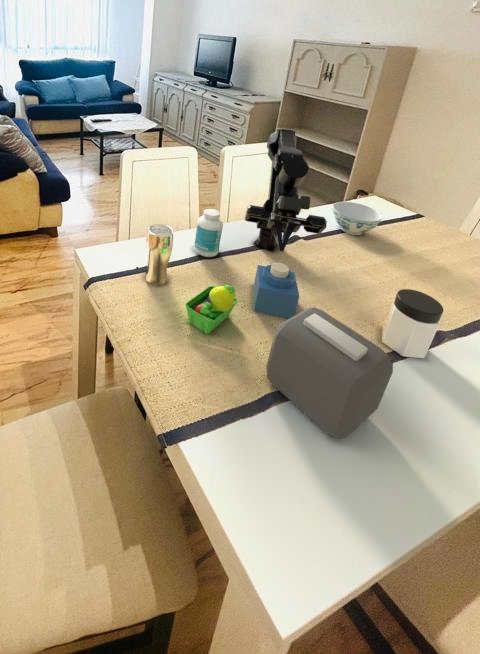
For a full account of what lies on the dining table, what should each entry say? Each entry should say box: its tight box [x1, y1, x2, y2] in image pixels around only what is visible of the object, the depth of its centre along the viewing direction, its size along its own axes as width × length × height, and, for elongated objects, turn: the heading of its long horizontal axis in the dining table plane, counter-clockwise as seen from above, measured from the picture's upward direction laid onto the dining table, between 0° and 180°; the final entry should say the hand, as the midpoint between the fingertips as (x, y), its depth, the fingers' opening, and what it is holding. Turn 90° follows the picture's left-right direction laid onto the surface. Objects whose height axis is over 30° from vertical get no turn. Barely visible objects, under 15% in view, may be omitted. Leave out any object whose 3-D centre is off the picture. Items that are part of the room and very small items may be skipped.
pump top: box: [270, 262, 290, 279], centre depth 94 cm, size 4×4×2 cm
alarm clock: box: [265, 306, 394, 439], centre depth 69 cm, size 16×11×16 cm
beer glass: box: [144, 223, 174, 286], centre depth 102 cm, size 7×7×15 cm
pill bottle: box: [193, 208, 224, 258], centre depth 116 cm, size 8×7×14 cm
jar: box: [381, 288, 444, 359], centre depth 84 cm, size 9×8×12 cm
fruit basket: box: [185, 284, 238, 335], centre depth 88 cm, size 11×9×11 cm
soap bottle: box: [252, 264, 300, 320], centre depth 96 cm, size 10×9×9 cm
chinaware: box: [332, 201, 383, 236], centre depth 135 cm, size 15×15×8 cm
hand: (281, 251), depth 96 cm, fingers closed
